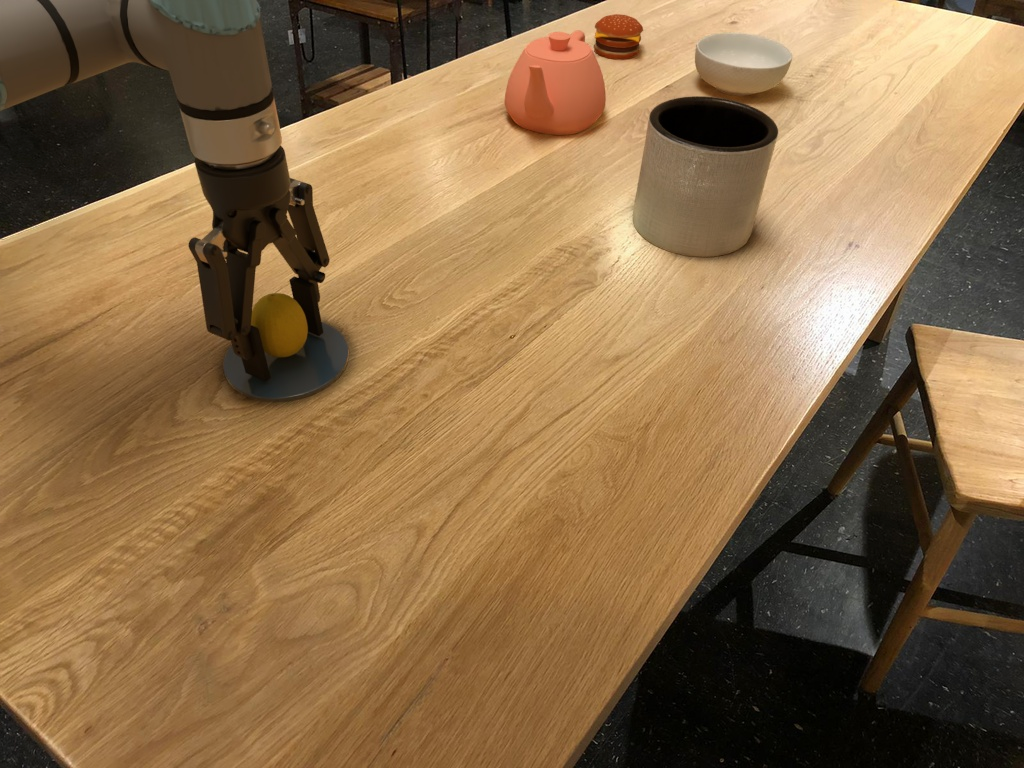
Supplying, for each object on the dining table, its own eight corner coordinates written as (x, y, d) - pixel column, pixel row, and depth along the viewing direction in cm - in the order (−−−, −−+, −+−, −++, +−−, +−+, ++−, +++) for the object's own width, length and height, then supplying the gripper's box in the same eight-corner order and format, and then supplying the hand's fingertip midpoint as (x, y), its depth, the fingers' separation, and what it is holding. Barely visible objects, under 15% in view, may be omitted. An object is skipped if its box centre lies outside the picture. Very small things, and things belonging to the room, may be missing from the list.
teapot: (576, 159, 119) (584, 72, 110) (477, 139, 123) (477, 53, 114) (619, 99, 136) (629, 20, 127) (531, 83, 140) (535, 5, 131)
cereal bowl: (673, 89, 140) (680, 49, 135) (713, 63, 150) (721, 25, 145) (759, 115, 133) (770, 74, 128) (796, 86, 143) (807, 47, 138)
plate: (199, 380, 80) (195, 370, 79) (282, 315, 89) (280, 304, 88) (296, 425, 76) (293, 415, 75) (374, 352, 84) (372, 341, 83)
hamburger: (594, 41, 157) (597, 7, 153) (640, 45, 156) (645, 11, 152) (590, 57, 150) (593, 22, 146) (639, 62, 149) (644, 26, 145)
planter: (769, 257, 100) (803, 146, 90) (653, 269, 98) (674, 155, 87) (721, 196, 112) (746, 91, 101) (616, 205, 109) (631, 98, 98)
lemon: (249, 366, 80) (232, 305, 75) (276, 334, 84) (262, 274, 78) (297, 378, 79) (283, 316, 73) (322, 345, 83) (310, 284, 77)
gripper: (179, 216, 57) (244, 425, 73) (348, 116, 71) (372, 311, 86) (109, 190, 60) (186, 398, 76) (285, 98, 73) (319, 291, 89)
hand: (285, 351), depth 81 cm, fingers open, 8 cm apart
